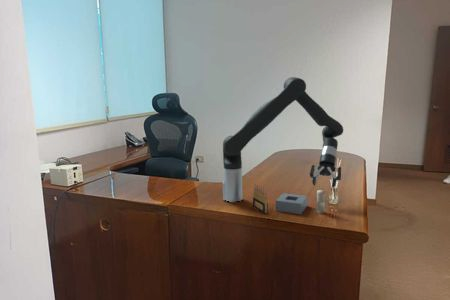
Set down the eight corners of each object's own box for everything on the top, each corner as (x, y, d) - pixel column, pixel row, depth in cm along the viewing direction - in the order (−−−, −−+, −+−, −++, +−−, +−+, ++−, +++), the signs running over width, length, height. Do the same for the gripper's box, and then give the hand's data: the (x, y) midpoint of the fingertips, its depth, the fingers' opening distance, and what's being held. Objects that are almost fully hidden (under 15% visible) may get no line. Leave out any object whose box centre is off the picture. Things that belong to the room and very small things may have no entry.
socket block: (275, 210, 161) (275, 200, 160) (283, 202, 172) (283, 193, 171) (301, 214, 156) (301, 203, 155) (307, 205, 166) (307, 195, 165)
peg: (315, 212, 157) (316, 192, 155) (317, 210, 160) (317, 189, 158) (323, 213, 156) (324, 192, 154) (325, 211, 159) (325, 190, 157)
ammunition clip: (268, 213, 158) (267, 188, 156) (264, 214, 157) (264, 189, 155) (256, 206, 167) (255, 182, 165) (252, 207, 167) (252, 183, 164)
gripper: (312, 152, 169) (307, 180, 161) (342, 153, 163) (338, 183, 155) (314, 160, 175) (309, 188, 167) (343, 162, 169) (339, 191, 161)
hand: (323, 185), depth 161 cm, fingers open, 8 cm apart
